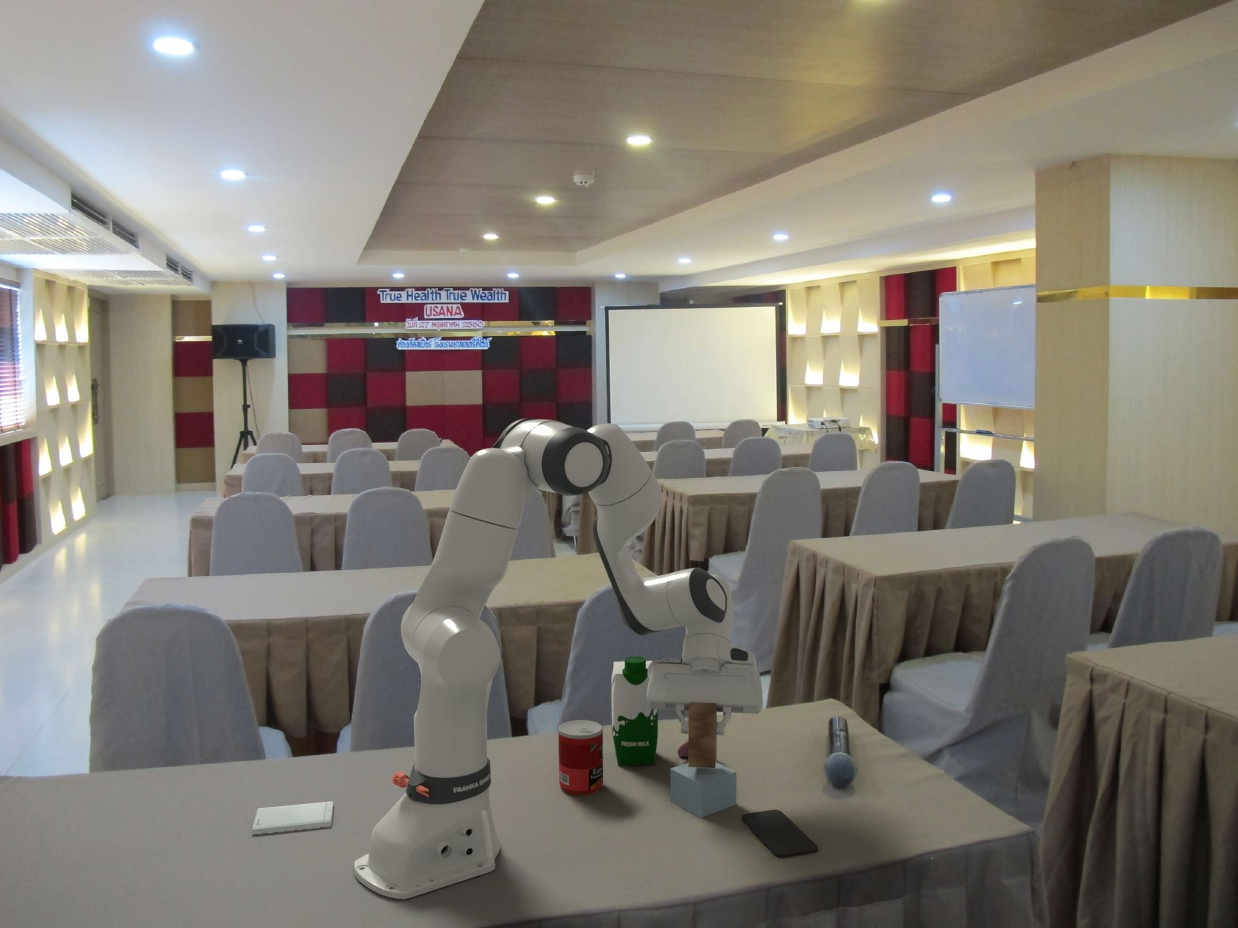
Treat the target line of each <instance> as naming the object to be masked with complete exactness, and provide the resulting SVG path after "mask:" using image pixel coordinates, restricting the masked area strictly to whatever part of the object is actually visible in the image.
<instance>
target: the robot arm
mask: <svg viewBox="0 0 1238 928" xmlns="http://www.w3.org/2000/svg"><path fill="white" fill-rule="evenodd" d="M537 490H540V491H545V492H549V493H555V494H558V495H561V496H568V497H573V496H580V495H581V496H582V495H584V494H587V493H588V495H589V497H590V498H591V500H592V502H593V503H594V505H595V508H596V510H597V512H596V513H597V516H596V517H595V518H594V521H593V525H592V532H593V538H594V542H595V545H596V549H597V551H598V554H599V556H600V559H601V562H602V564H603V567H604V569H605V572H606V574H607V578H608V579H609V582H610V585H611V587H612V589H613V592H614V594H615V598H616V603H617V606H618V607H617V608H618V612H619V615H620V619H621V620H622V623H623V624H624V625H625V626H626V627H627V628H628V629H629V630H631V631H632V632H634V633H635V634H637V635H638V636H647V635H652V634H654V633H658V632H661V631H664V630H668V629H673V628H680V627H685V634H684V638H683V641H682V656H681V658H665V657H660V658H658V657H657V658H656V659H655V660H651V661H652V662H651V663H650V664H649V666H648V673H647V675H648V678H649V683H648V688H647V695H646V698H647V703H648V705H649V706H650V707H651V708H652V709H658V710H663V711H664V710H665V711H666V710H667V711H675V714H676V717H677V719H678V721H679V723H680V733H681V734H685V735H686V734H687V735H688V719H687V720H686V719H685V717H684V716H685V715H686V714H685V712H686V711H688V709H689V705H690V702H703V703H717V713H722V716H723V717H722V719H721V720H720V721H717V722H716V735H717V736H725V727H726V726H727V725H728V724H729V722H730V720H732V714H749V715H750V714H753V715H759V714H760V713H761V712H762V710H763V708H764V699H763V698H764V697H763V685H762V679H761V675H760V672H759V670H758V669H757V660H756V655H755V653H753V652H752V651H750V650H747V649H744V648H741V647H738V646H736V645H733V642H732V639H731V633H732V630H733V626H734V608H733V607H734V605H733V603H734V602H733V596H732V591H731V587H730V584H729V583H728V581H726V579H724V578H723V577H722V576H719V575H718V574H714V573H709V572H708V571H706V570H704V569H703V568H701V567H692V568H687V569H682V570H678V571H673V572H671V573H664V574H661V575H656V576H651V577H649V576H648V577H646V576H643V575H642V576H641V575H640V574H639V573H638V572H637V569H636V567H635V563H634V562H633V559H632V556H631V554H630V550H629V548H628V544H629V543H631V542H632V541H633V540H634V539H635V538H636V537H638V536H639V535H641V534H642V533H644V532H645V531H646V530H647V529H648V528H649V527H650V526H651V525H652V524H653V522H655V519H656V518H657V516H658V514H659V512H660V509H661V506H662V501H663V500H662V499H663V495H662V491H661V487H660V485H659V482H658V480H657V478H656V476H655V474H654V473H653V471H652V469H651V467H650V465H649V463H648V462H647V460H646V459H645V457H644V456H643V454H642V453H641V452H640V450H639V449H638V447H637V446H636V444H634V442H633V441H632V440H631V438H630V437H629V436H628V435H627V434H626V433H625V431H624V430H623V429H621V428H620V427H619V426H617V425H615V424H610V423H602V424H596V425H594V426H592V427H590V428H588V429H587V430H586V429H584V428H581V427H576V426H572V425H570V424H566V423H564V422H562V421H559V420H552V419H542V418H541V419H540V418H537V417H536V418H535V417H528V418H527V417H526V418H521V419H518V420H515V421H514V422H512V423H510V424H509V425H508V426H507V427H505V428H504V430H503V431H502V432H501V434H500V435H499V437H498V439H497V441H496V442H495V443H494V444H493V445H492V447H489V448H487V447H486V448H483V449H481V450H478V451H476V452H475V453H474V454H473V455H472V456H471V457H470V459H469V461H468V462H467V464H466V466H465V468H464V469H463V472H462V473H461V476H460V478H459V481H458V484H457V486H456V489H455V491H454V493H453V496H452V499H451V502H450V505H449V510H448V512H447V516H446V518H445V522H444V525H443V528H442V531H441V535H440V539H439V541H438V545H437V548H436V552H435V555H434V557H433V560H432V562H431V565H430V567H429V569H428V571H427V573H426V576H425V577H424V579H423V581H422V584H421V585H420V586H419V589H418V591H417V594H416V596H415V598H414V600H413V602H412V603H411V604H410V605H409V606H408V608H407V609H406V610H405V612H404V614H403V615H402V618H401V621H400V622H401V623H400V634H401V639H402V642H403V646H404V649H405V650H406V652H407V654H408V655H409V656H410V657H411V658H412V659H413V660H414V661H415V662H416V663H417V665H418V667H419V671H420V680H421V682H420V684H421V685H420V692H419V700H418V704H417V709H416V711H415V713H414V715H413V730H414V731H413V732H414V733H413V734H414V736H413V737H414V738H413V740H414V764H413V766H412V769H411V771H410V774H409V775H408V774H404V773H403V772H401V771H396V772H395V773H394V774H393V776H392V780H391V781H392V784H393V785H395V786H398V787H399V788H400V789H401V788H402V789H404V788H405V793H404V794H403V795H402V796H401V797H400V798H399V800H397V802H396V803H395V804H394V805H393V806H392V807H391V809H390V810H389V811H388V812H387V813H386V814H385V815H384V816H383V817H382V818H381V820H379V822H378V823H377V824H376V825H375V826H374V827H373V829H372V832H371V834H370V839H369V846H368V853H366V854H364V855H362V856H361V857H359V858H358V859H355V860H354V863H353V875H354V876H355V878H356V879H357V880H358V882H360V883H361V885H364V886H365V887H366V888H368V889H370V890H371V891H373V892H374V893H377V894H379V895H381V896H384V897H388V898H391V899H398V900H407V899H410V898H414V897H417V896H420V895H422V894H426V893H429V892H432V891H435V890H438V889H442V888H444V887H447V886H451V885H454V884H456V883H460V882H462V881H466V880H469V879H472V878H476V877H478V876H481V875H485V874H488V873H491V872H492V871H494V870H495V869H496V857H497V856H498V855H499V852H500V850H501V843H500V840H499V838H498V834H497V831H496V827H495V822H494V817H493V812H492V807H491V798H490V785H491V784H492V772H491V769H492V768H491V760H490V758H489V757H488V731H487V730H488V725H487V720H488V717H487V716H488V708H489V707H488V705H489V699H490V693H491V689H492V683H493V679H494V677H495V675H496V674H497V672H498V670H499V668H500V663H501V649H500V646H499V644H498V641H497V639H496V637H495V635H494V633H493V631H492V630H491V628H490V626H489V625H487V623H485V622H484V621H483V620H482V619H481V617H482V612H483V611H484V607H485V606H486V604H487V602H488V600H489V598H490V596H491V595H492V593H493V591H494V590H495V588H496V587H497V586H498V585H499V584H500V583H501V582H502V581H503V580H504V579H505V576H506V574H507V573H506V572H507V570H508V567H509V564H510V560H511V556H512V554H513V549H514V546H515V543H516V540H517V539H516V538H517V535H518V532H519V529H520V525H521V523H522V522H521V521H522V517H523V513H524V508H525V506H526V504H527V503H528V500H529V499H530V497H531V496H532V494H533V493H535V492H536V491H537Z"/></svg>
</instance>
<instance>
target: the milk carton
mask: <svg viewBox="0 0 1238 928" xmlns="http://www.w3.org/2000/svg"><path fill="white" fill-rule="evenodd" d="M652 661H653V660H647V659H646V658H645V657H642V656H628V657H626V658H625V659H624V661H613V669H612V673H611V679H610V681H611V682H610V683H611V733H612V740H613V744H614V751H615V755H616V761H617V766H618V767H619V766H621V767H622V766H652V765H656V764H655V763H656V756H657V748H658V747H657V745H658V736H659V732H658V731H659V709H652V708H651V707H650V706H649V705H648V703H647V698H646V695H647V688H648V683H649V678H648V675H647V673H648V666H649V664H650V663H651V662H652Z"/></svg>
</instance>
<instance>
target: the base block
mask: <svg viewBox="0 0 1238 928" xmlns="http://www.w3.org/2000/svg"><path fill="white" fill-rule="evenodd" d="M669 772H670V773H669V775H670V778H669V779H670V780H669V783H670V786H669V787H670V790H669V791H670V797H669V798H670V802H671V803H674V804H675V805H676V806H678V807H681V808H682V809H684V810H686V811H688V812H690V813H692V814H694V815H695V816H698V817H699V818H704V817H707V816H709V815H712V814H715V813H717V812H721V811H722V810H726V809H728V808H730V807H733V806H736V805H737V771H736V770H733V769H731V768H730V767H727V766H725V765H722V764H721V763H719V762H716V766H715V768H701V767H689V763H686V764H683V763H682V764H681V765H680V764H679V765H677V766H674V767H671V768H670V769H669Z"/></svg>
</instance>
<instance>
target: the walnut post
mask: <svg viewBox="0 0 1238 928" xmlns="http://www.w3.org/2000/svg"><path fill="white" fill-rule="evenodd" d="M687 713H688V716H687V717H688V719H687V720H688V734H687V735H688V741H689V756H688V759H689V767H701V768H715V766H716V763H717V757H718V755H717V753H718V750H717V749H718V747H717V746H718V741H717V740H718V739H717V736H718V735H716V722H718V714H717V713H718V712H717V703H703V702H690V705H689V709H688V712H687Z"/></svg>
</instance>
